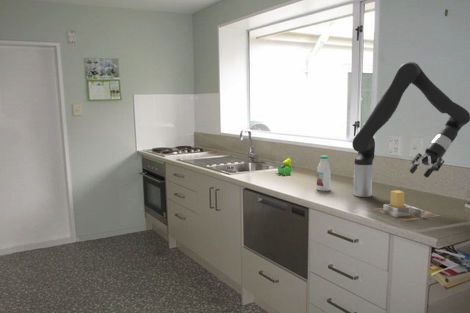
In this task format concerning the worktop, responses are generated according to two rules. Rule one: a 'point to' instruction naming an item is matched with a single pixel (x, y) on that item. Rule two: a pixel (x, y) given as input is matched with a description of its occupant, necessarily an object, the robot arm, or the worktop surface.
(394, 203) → the block
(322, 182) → the milk bottle
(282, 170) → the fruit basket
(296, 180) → the worktop surface
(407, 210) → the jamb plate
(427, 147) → the robot arm
